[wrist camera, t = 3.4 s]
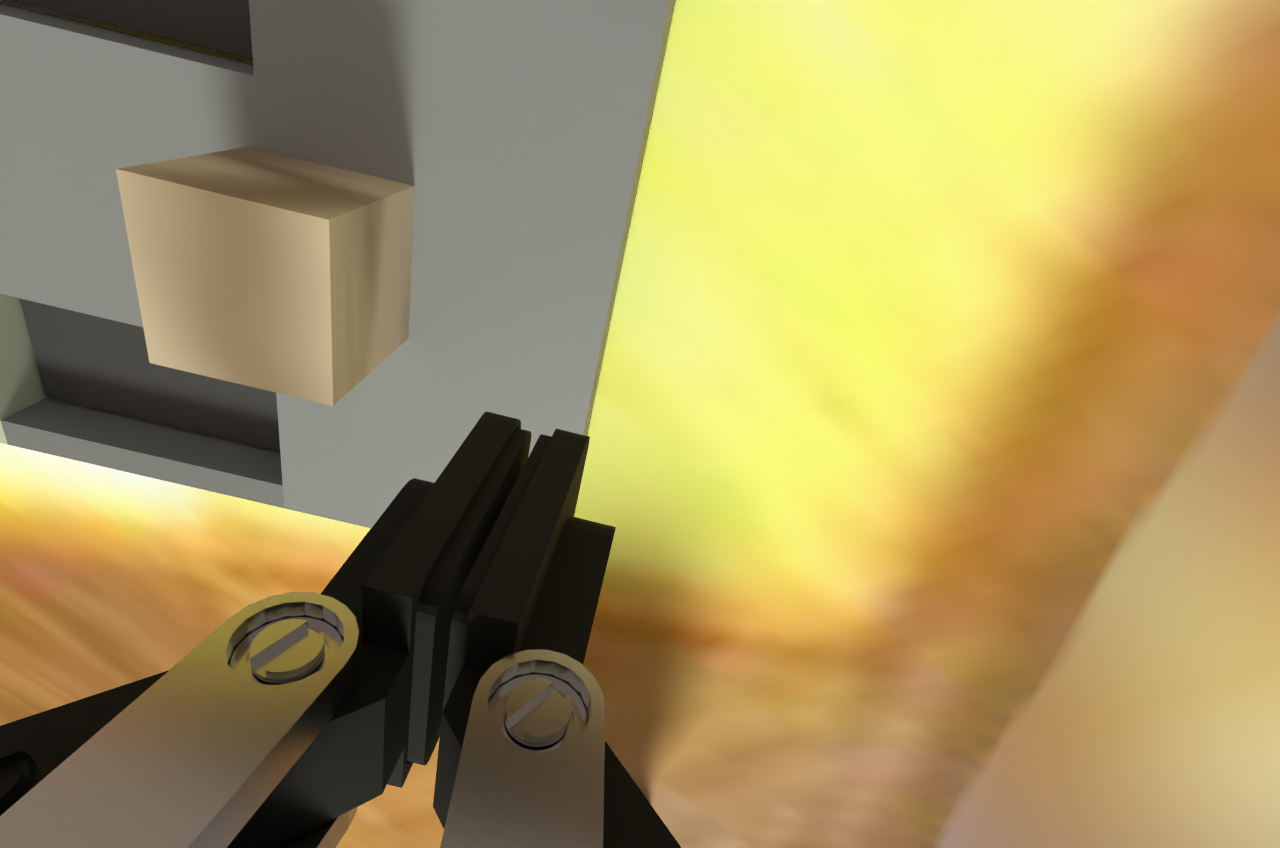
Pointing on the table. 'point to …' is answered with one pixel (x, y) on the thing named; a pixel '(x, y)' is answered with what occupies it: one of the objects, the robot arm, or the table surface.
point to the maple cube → (269, 268)
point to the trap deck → (345, 138)
